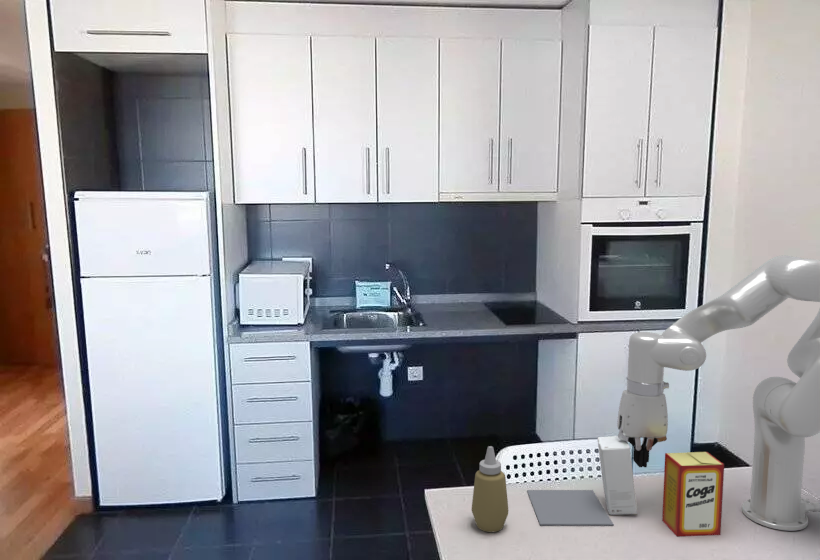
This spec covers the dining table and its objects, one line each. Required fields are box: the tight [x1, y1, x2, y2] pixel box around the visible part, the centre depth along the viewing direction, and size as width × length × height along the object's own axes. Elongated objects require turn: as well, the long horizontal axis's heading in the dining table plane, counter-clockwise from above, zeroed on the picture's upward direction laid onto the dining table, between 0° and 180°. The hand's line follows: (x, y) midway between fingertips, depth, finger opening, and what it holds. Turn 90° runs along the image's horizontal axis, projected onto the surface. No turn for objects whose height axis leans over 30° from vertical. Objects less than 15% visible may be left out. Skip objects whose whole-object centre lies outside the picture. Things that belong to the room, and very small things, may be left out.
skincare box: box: [597, 435, 638, 516], centre depth 137 cm, size 8×7×16 cm
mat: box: [526, 489, 615, 527], centre depth 138 cm, size 16×16×1 cm
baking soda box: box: [661, 451, 725, 538], centre depth 128 cm, size 10×6×16 cm
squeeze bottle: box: [471, 445, 509, 533], centre depth 129 cm, size 8×8×18 cm
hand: (640, 464), depth 137 cm, fingers closed
